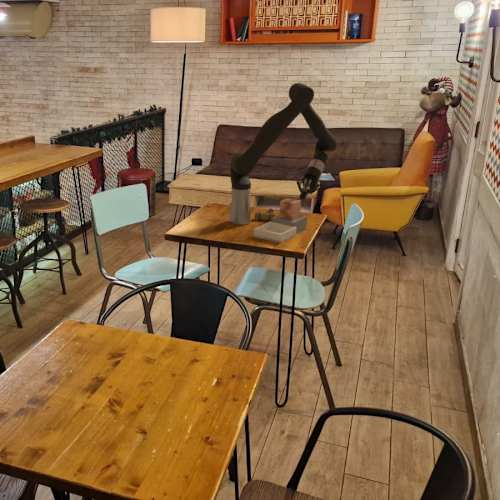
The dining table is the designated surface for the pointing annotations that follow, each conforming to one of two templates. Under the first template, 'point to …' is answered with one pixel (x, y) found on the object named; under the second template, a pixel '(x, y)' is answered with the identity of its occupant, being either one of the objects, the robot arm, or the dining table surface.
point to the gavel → (265, 215)
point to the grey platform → (292, 222)
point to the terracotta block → (290, 208)
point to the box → (275, 232)
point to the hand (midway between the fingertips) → (301, 199)
